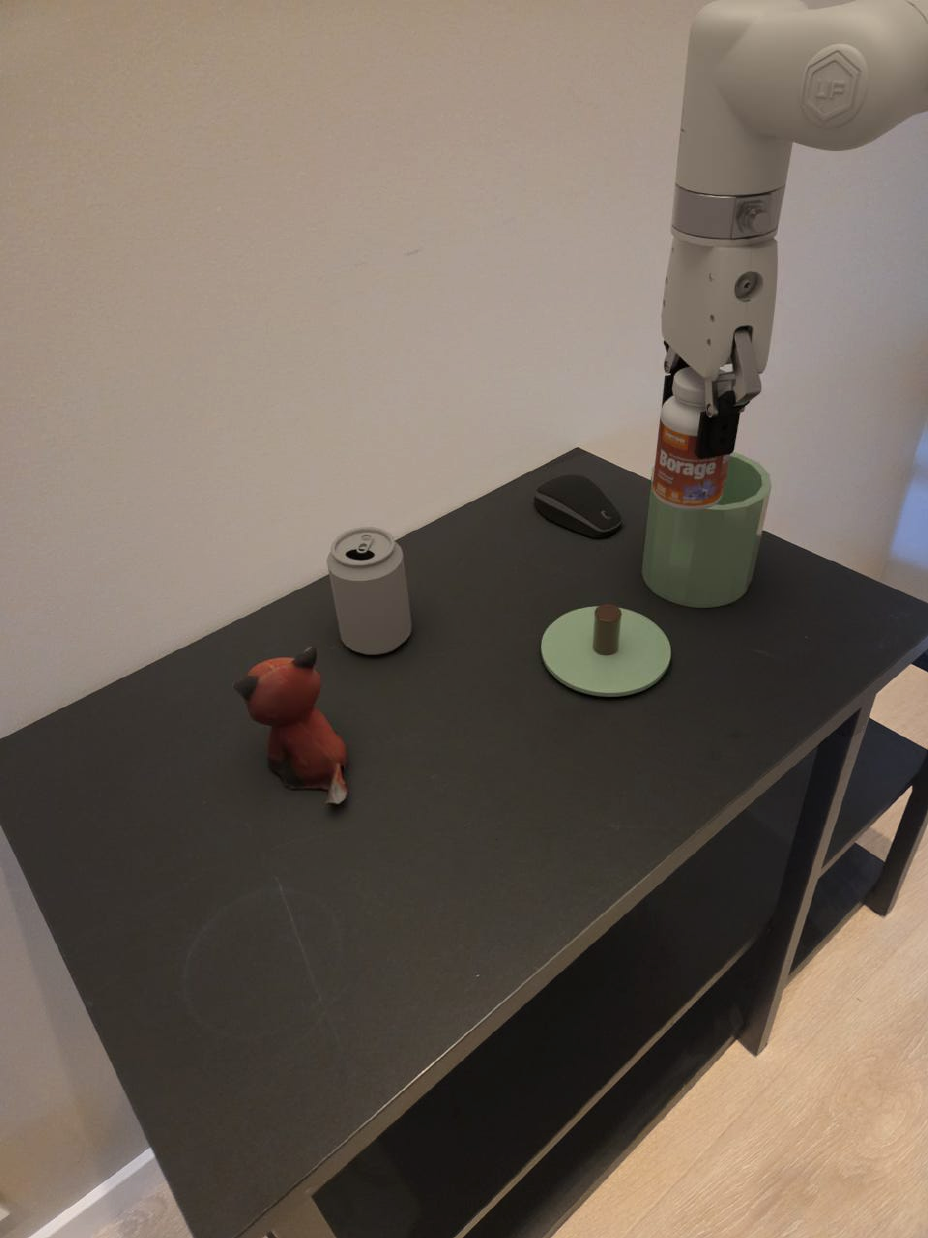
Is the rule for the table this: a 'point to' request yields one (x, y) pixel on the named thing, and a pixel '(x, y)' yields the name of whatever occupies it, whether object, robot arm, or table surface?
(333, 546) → the can
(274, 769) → the stuffed fox
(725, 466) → the pill bottle
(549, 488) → the computer mouse
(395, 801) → the table surface
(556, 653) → the lid
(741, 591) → the pot
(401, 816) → the table surface
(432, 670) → the table surface
